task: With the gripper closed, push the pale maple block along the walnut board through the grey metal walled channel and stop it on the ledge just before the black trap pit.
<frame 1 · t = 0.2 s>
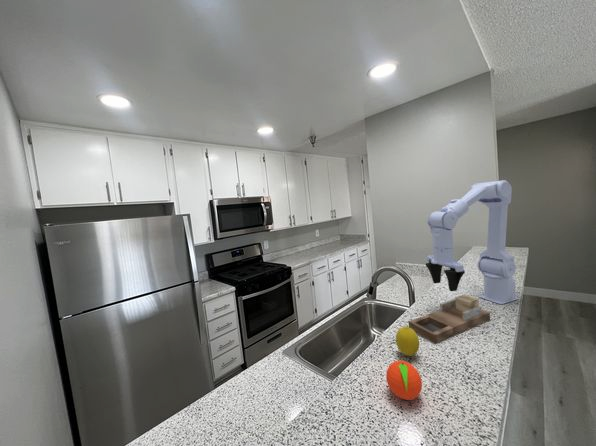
hand: (444, 286, 80), 10 cm above the countertop, tool pointing down, fingers open, 7 cm apart
route board: (449, 324, 74), on the countertop
channel walls: (459, 309, 76), on the route board, point 4 cm above the countertop
maple block: (467, 309, 78), point 2 cm above the countertop, touching route board
lemon: (408, 356, 62), on the countertop
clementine: (404, 397, 50), on the countertop
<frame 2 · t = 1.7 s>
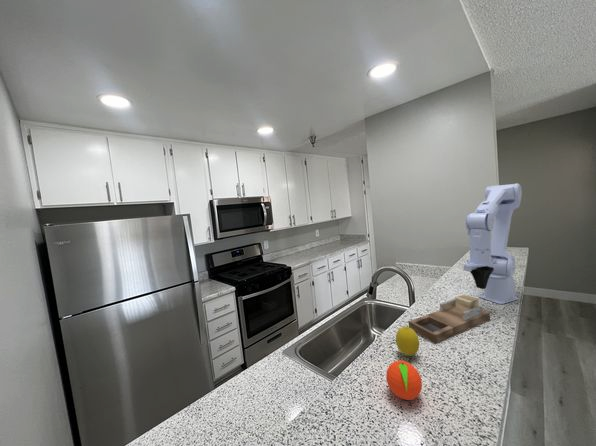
hand: (481, 287, 80), 8 cm above the countertop, tool pointing down, fingers closed
nothing on the countertop moved.
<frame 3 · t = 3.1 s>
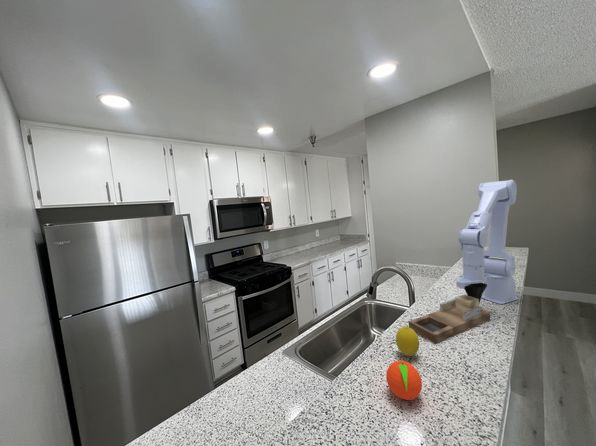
hand: (474, 304, 79), 4 cm above the countertop, tool pointing down, fingers closed
maple block: (467, 309, 78), point 2 cm above the countertop, touching gripper, route board
everything else where it was.
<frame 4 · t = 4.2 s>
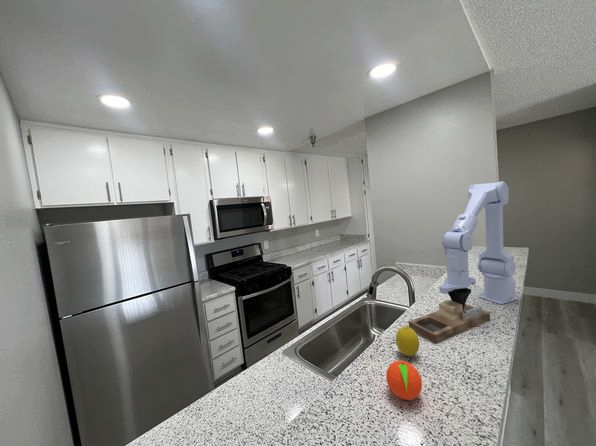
hand: (458, 310, 76), 4 cm above the countertop, tool pointing down, fingers closed
maple block: (450, 315, 75), point 3 cm above the countertop, touching gripper
everything else where it was.
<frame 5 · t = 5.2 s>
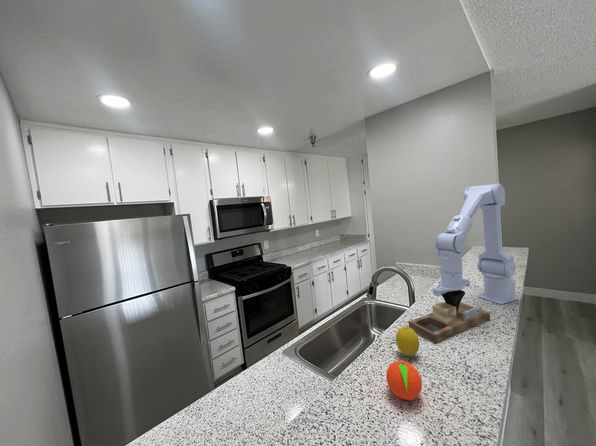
hand: (452, 312, 75), 4 cm above the countertop, tool pointing down, fingers closed
maple block: (444, 318, 74), point 2 cm above the countertop, touching gripper, route board
everything else where it was.
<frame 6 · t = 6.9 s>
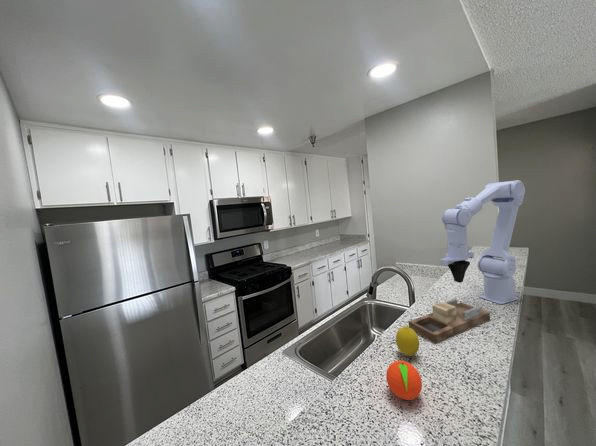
hand: (458, 281, 82), 10 cm above the countertop, tool pointing down, fingers closed
maple block: (444, 318, 74), point 2 cm above the countertop, touching route board
everything else where it was.
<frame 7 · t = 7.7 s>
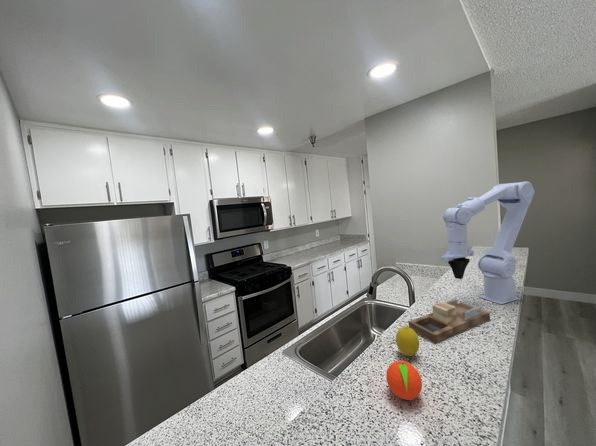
hand: (458, 278, 85), 10 cm above the countertop, tool pointing down, fingers closed
nothing on the countertop moved.
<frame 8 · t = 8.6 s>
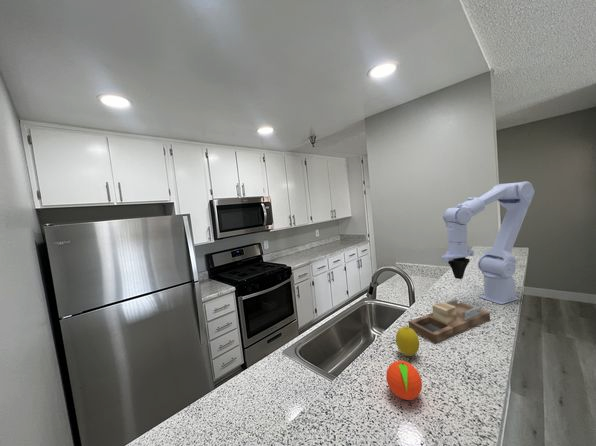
hand: (458, 278, 85), 10 cm above the countertop, tool pointing down, fingers closed
nothing on the countertop moved.
at the end: maple block 0.3 cm from the target spot on the route board, point 2.5 cm above the route board's base; maple block tilted 0°; maple block moved 10.7 cm from its start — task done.
